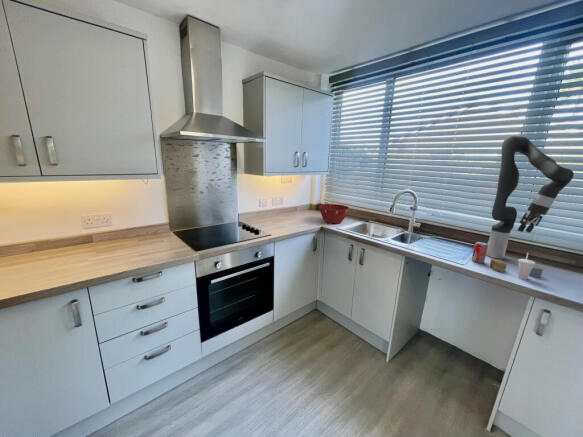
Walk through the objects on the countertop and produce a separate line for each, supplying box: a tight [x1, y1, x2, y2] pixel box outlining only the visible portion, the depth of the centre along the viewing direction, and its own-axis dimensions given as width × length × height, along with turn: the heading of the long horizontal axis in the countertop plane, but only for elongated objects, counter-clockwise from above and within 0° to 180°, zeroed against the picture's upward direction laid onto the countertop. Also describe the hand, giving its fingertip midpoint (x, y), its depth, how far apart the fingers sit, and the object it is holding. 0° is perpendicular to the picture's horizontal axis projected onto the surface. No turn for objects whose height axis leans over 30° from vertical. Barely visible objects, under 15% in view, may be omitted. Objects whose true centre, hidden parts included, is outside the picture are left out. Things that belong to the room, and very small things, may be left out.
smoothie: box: [517, 252, 536, 280], centre depth 126 cm, size 6×6×14 cm
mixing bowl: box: [318, 203, 350, 224], centre depth 233 cm, size 28×28×16 cm
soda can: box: [471, 241, 488, 264], centre depth 147 cm, size 6×6×12 cm
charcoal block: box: [528, 264, 544, 278], centre depth 131 cm, size 5×5×5 cm
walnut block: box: [489, 258, 508, 273], centre depth 137 cm, size 5×5×5 cm
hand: (523, 231), depth 134 cm, fingers open, 8 cm apart
